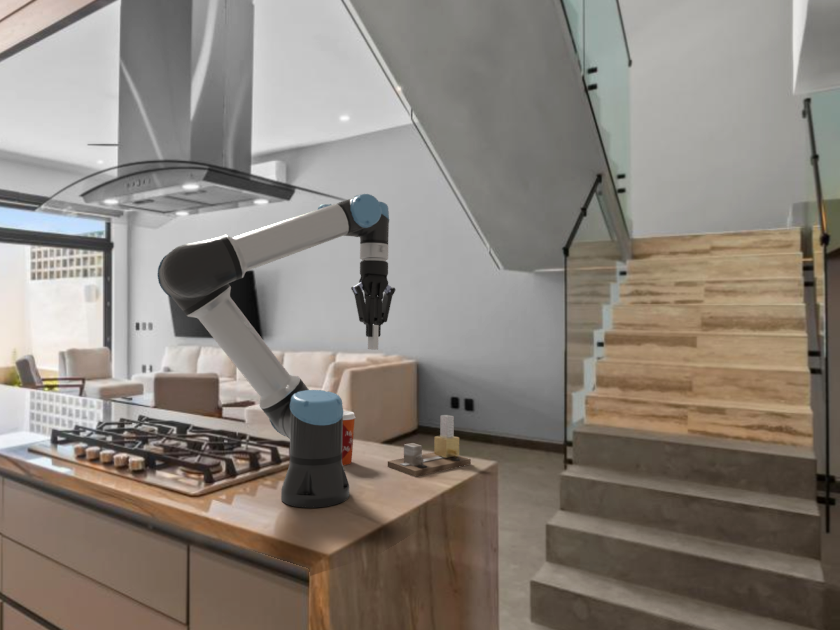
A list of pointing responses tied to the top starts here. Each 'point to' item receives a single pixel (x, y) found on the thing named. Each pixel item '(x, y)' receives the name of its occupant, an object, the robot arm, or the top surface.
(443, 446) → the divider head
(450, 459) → the assembly board
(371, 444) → the top surface
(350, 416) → the paper cup
